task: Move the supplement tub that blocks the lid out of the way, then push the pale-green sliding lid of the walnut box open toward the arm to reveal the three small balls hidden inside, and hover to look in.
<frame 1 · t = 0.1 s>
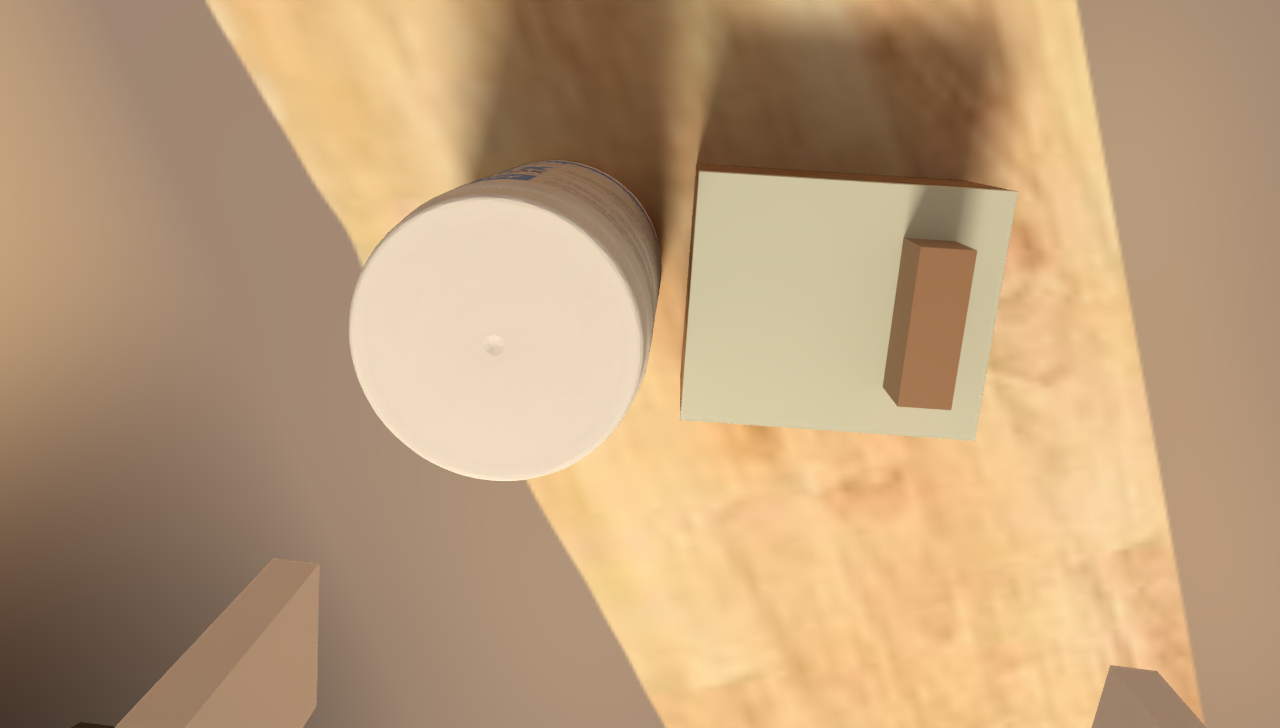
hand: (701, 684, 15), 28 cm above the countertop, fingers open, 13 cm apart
box: (817, 282, 40), on the countertop
supplement tub: (560, 264, 41), on the countertop
lid: (845, 315, 34), point 7 cm above the countertop, slide at 0.0 cm
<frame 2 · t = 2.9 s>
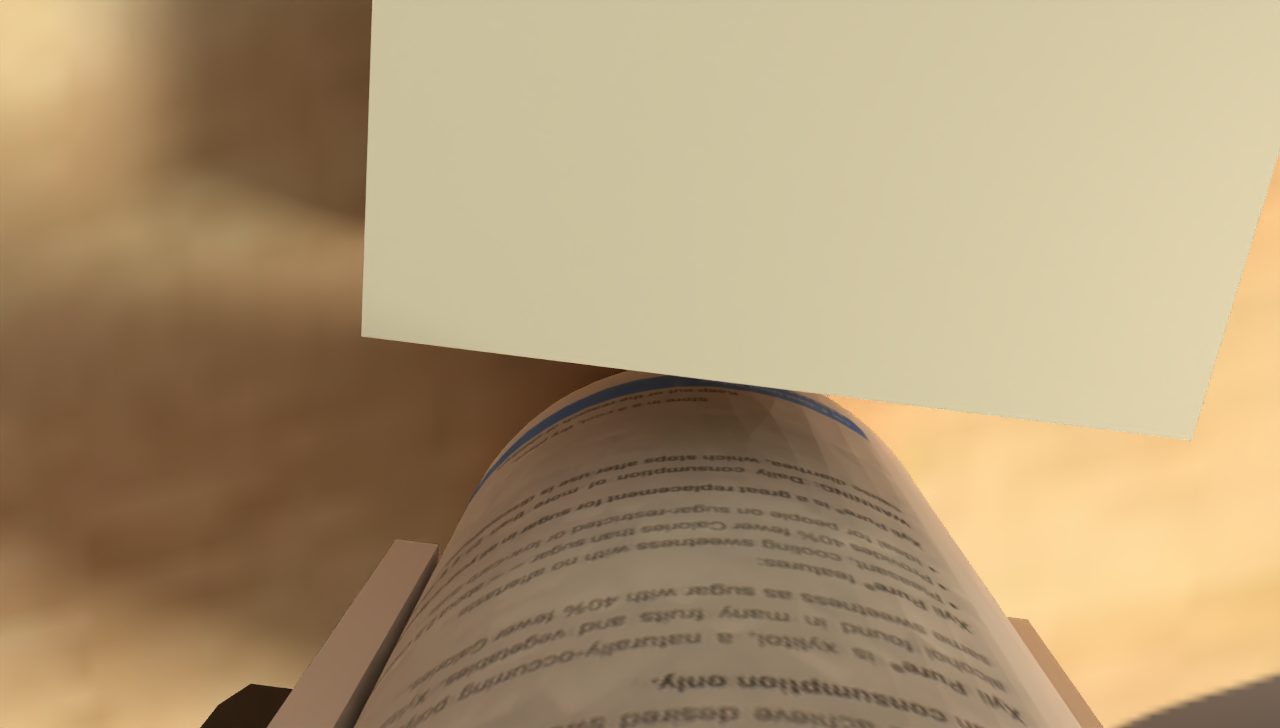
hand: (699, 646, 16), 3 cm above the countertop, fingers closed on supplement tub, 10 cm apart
supplement tub: (698, 567, 18), on the countertop, touching gripper
when the fingers open (4 cm above the countertop, at t = 8.9 s): supplement tub stays where it is, on the countertop.
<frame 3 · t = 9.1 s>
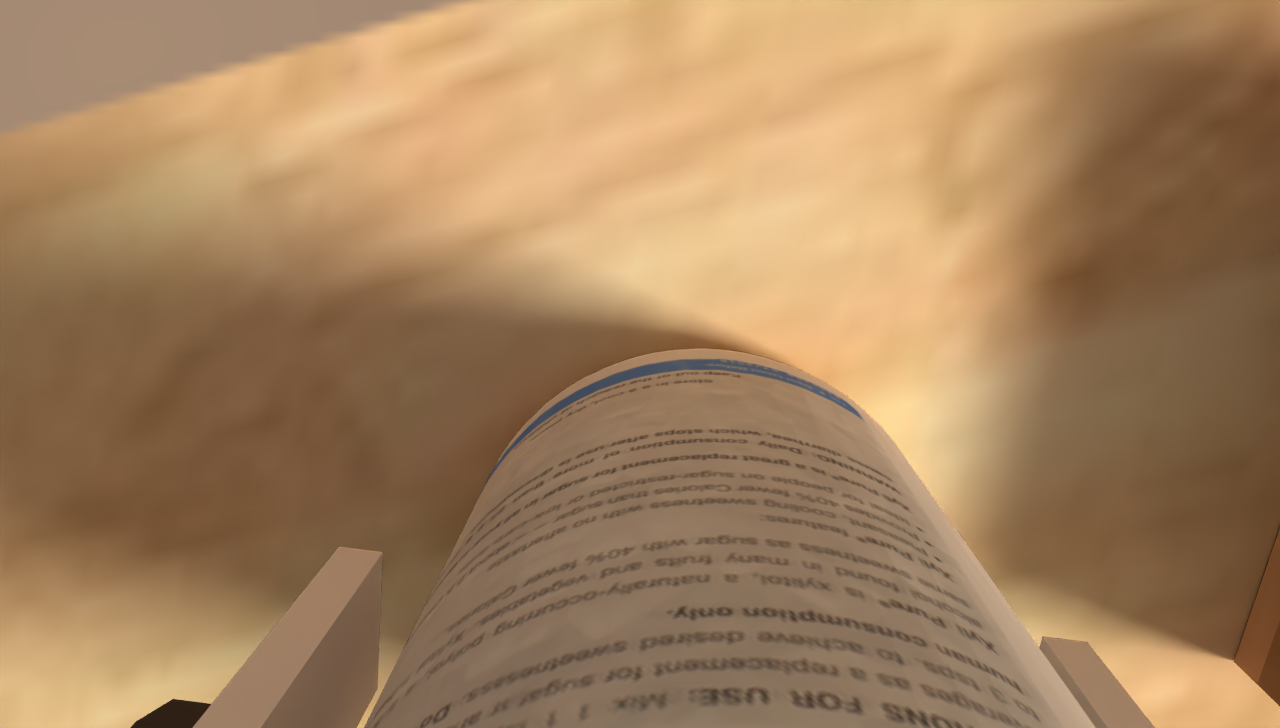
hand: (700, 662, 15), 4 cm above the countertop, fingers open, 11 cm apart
supplement tub: (703, 546, 19), on the countertop
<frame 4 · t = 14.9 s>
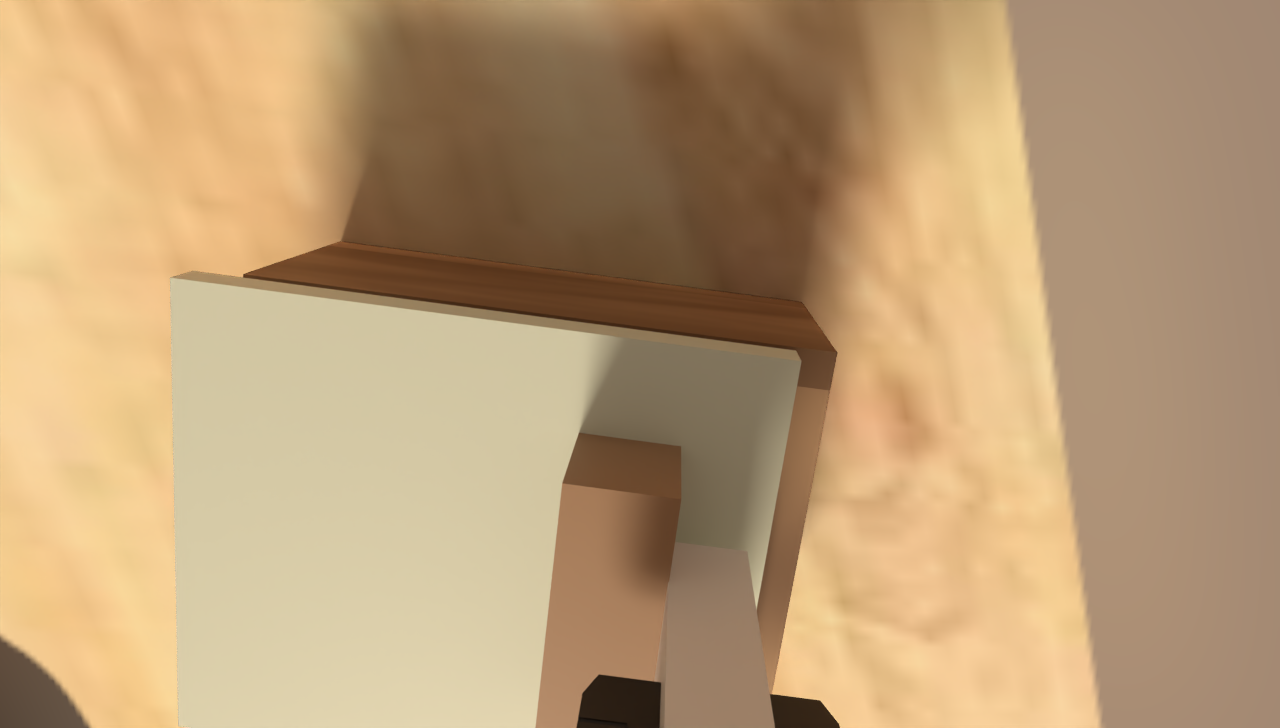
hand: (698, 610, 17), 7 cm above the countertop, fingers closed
box: (551, 452, 24), on the countertop
lid: (455, 578, 17), point 7 cm above the countertop, slide at 0.9 cm, touching gripper
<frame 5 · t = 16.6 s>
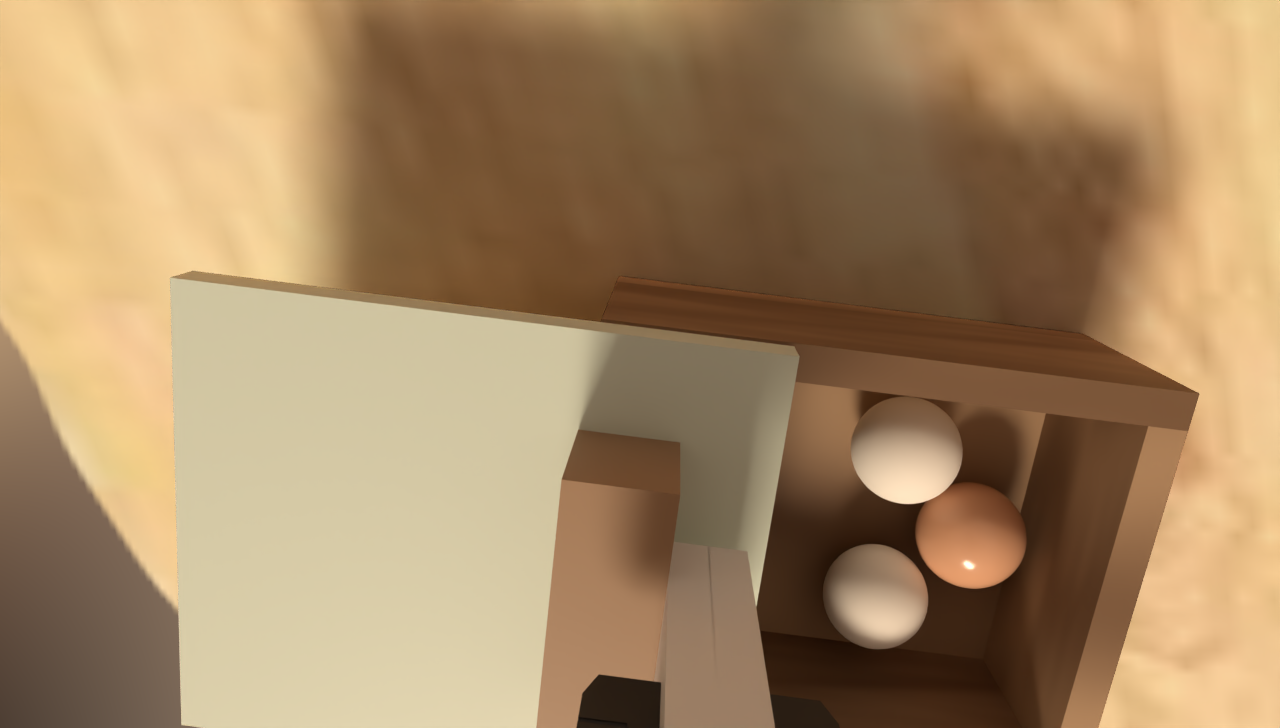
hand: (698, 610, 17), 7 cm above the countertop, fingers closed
ball b: (864, 570, 24), point 1 cm above the countertop, touching box
box: (817, 483, 24), on the countertop
ball a: (893, 431, 22), point 1 cm above the countertop, touching box
lid: (456, 575, 17), point 7 cm above the countertop, slide at 8.2 cm, touching gripper
ball c: (953, 512, 23), point 1 cm above the countertop, touching box
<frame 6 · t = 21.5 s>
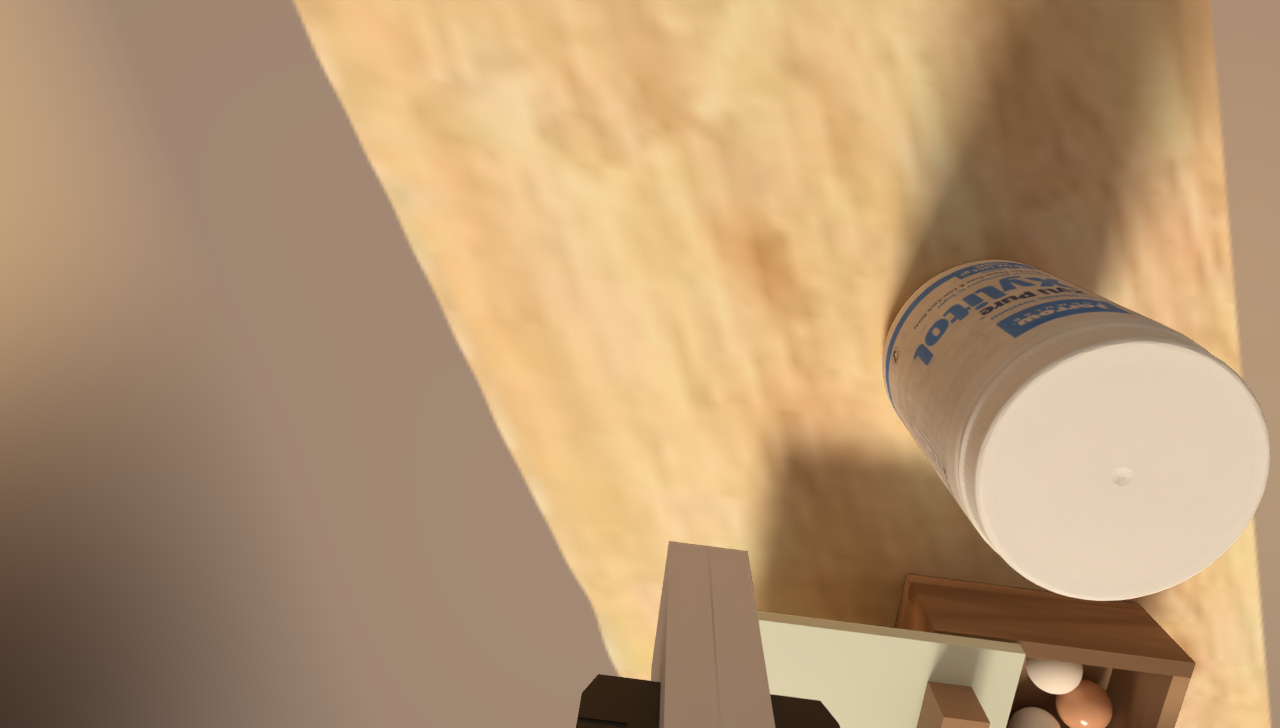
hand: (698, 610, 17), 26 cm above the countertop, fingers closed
ball b: (1025, 717, 46), point 1 cm above the countertop, touching box
box: (1000, 672, 46), on the countertop
ball a: (1043, 651, 45), point 1 cm above the countertop, touching box
supplement tub: (975, 355, 42), on the countertop
ball c: (1072, 689, 46), point 1 cm above the countertop, touching box
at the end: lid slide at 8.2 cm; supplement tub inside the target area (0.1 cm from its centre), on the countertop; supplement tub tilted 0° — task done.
